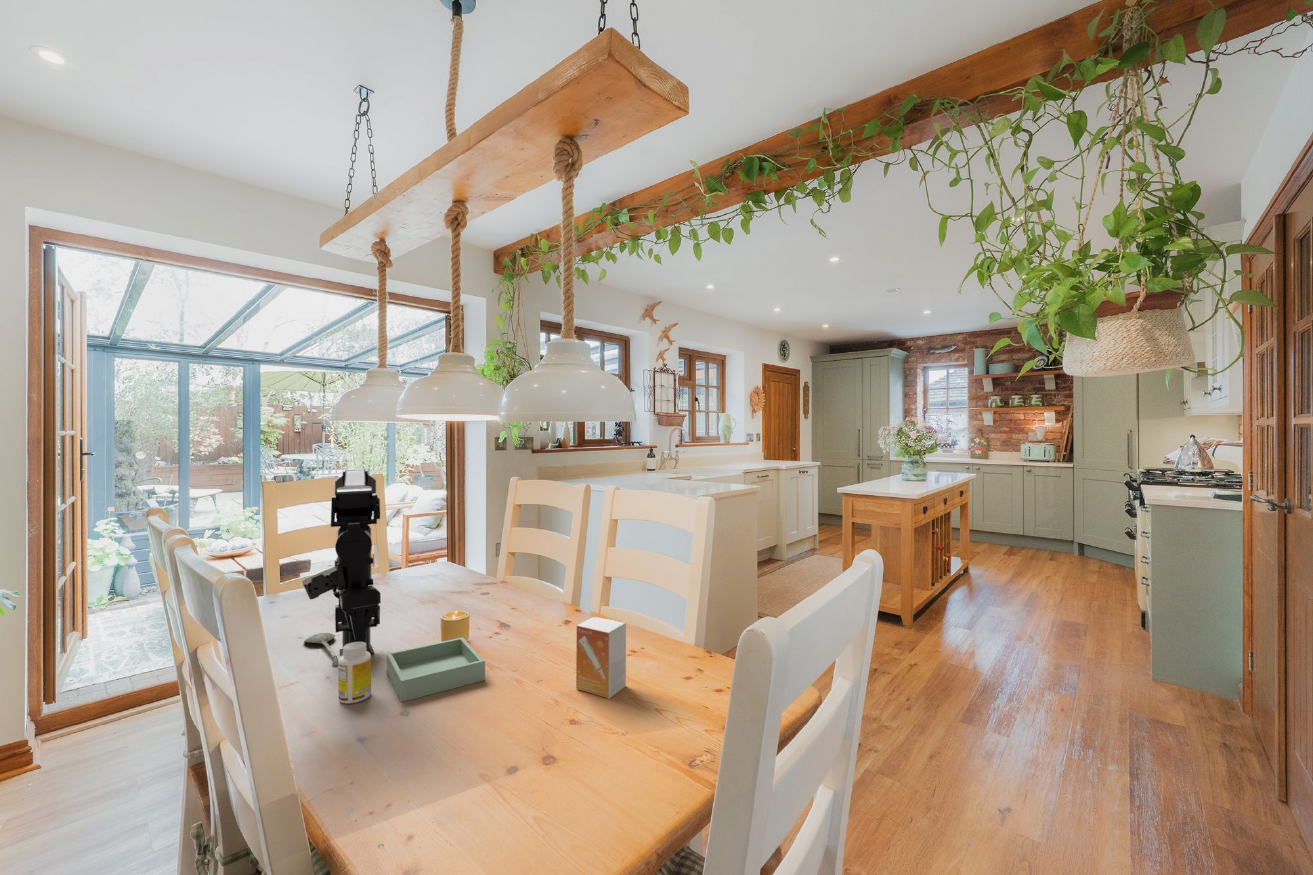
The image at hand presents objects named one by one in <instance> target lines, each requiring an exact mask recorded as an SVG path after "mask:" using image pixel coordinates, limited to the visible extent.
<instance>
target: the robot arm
mask: <svg viewBox="0 0 1313 875" xmlns="http://www.w3.org/2000/svg"><path fill="white" fill-rule="evenodd" d="M330 505H331V506H330V509H331V510H330V512H331V513H330V527H331V528H335V527H337V528H338V527H339V528H338V530H337V539H336V542H335V544H334V545H335V546H334V548H335V552H336V555H337V558H336V560H334V566H333V567H331V568H328V569H325V570H322V571H320V572H318V573H316V574H314V575H312V576H309V577H307V578H304V579H303V580H302V581H301V583H302V586H303V588H304V590H305V592H306V594H307V596H308V598H309V600H315V599H317V598H319V597H320V596H322V595H323V594H325V593H327V592H329V591H332V594H333V596H334V597H335V598H336V599H338V604H336V605H335V606H334V607H335V610H334V616H335V617H334V621H335V622H334V624H335V625H334V626H335V627H334V628H335V633H339V632H341V633H342V648H340V649H339V651H338V652H339V656H340V657H341V656H343V647H344V646H345V645H347V644H349V643H353V642H365V643H366V651H367V652H369V653H370V654H371V655H374V654H375V651H374V649H373V646H372V644H371V628H374V627H378V625H380V624H381V605H380V604H381V592H380V591H379V590H378V588H376V587H375V586H373V585H374V579H373V578H372V564H374V558H373V557H372V546H373V542H372V528H371V526H370V525H377V524H378V520H381V500H380V498H379V497H378V494H377V480H376V479H375V478H374V477H372V476H371V475H370V474H369V469H367V468H364V467H363V468H346V469H344V470H342V475H341V476H340V477H339V478H338V479H337V480H335V482H334V495H333V494H331V504H330ZM372 517H373V518H372Z"/></svg>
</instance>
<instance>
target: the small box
mask: <svg viewBox="0 0 1313 875" xmlns="http://www.w3.org/2000/svg"><path fill="white" fill-rule="evenodd" d="M626 654H627V623H625V622H621V621H617V620H613V619H609V618H603V617H597V616H593V617H591V618H588V619H587V620H584V621H582V622H581V623H579V624H577V625H576V657H575V658H576V665H575V666H576V667H575V668H576V669H575V670H576V671H575V673H576V676H575V677H576V678H575V680H576V681H575V682H576V684H575V689H576V690H580V691H582V692H586V693H590V694H593V695H597V696H600V697H603V698H605V699H608V700H609V699H610V698H612V697H613V696H614V695H616V694H618V693H619V692H620V691H621V690H622V689H623V690H624V688H625V687H626V686H627V655H626Z"/></svg>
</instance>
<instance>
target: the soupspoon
mask: <svg viewBox="0 0 1313 875" xmlns="http://www.w3.org/2000/svg"><path fill="white" fill-rule="evenodd" d="M335 637H336V634H333V633H330V632H319V633H316V634H313V635H311V636H309V637H307V638H306V639H305V640H304V641H303V643H313V644H322V645H323V646H324V647H325V648H326V649H327V651H328V652H329V654H330V655H331V657H332V658H331V659H332V661H333V662H332V667H338V660H339V658H338V656H337V655H336V653H335V652H334V650H333V649H332V647H331V646H330V644H329V643H328V642H330V641H332V640H333V639H334V638H335Z"/></svg>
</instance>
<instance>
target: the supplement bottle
mask: <svg viewBox="0 0 1313 875" xmlns="http://www.w3.org/2000/svg"><path fill="white" fill-rule="evenodd" d="M342 649H343V656H341V655H340V657H339V658H338V665H337V669H338V671H337V672H338V674H337V675H338V679H337V680H338V681H337V682H338V683H337V684H338V700H339V702H340V703H342V704H355V703H360V702H362V701H364V700H366V699H368V698H369V697H370V696H371V693H372V654H370V653H369V652H367V651H366V643H365V642H353V643H349V644H347V645H345V646H344V647H343V646H342Z"/></svg>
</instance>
